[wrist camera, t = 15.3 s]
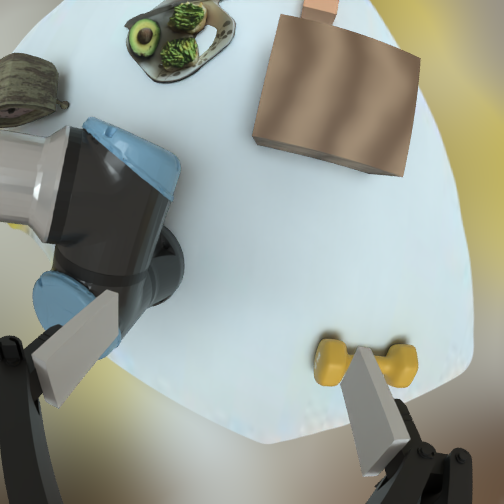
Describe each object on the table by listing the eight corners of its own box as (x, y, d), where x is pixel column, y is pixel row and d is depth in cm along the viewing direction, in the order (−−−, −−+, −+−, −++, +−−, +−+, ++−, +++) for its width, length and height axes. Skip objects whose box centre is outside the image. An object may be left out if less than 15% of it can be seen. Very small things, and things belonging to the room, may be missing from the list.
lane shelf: (257, 145, 42) (251, 135, 30) (278, 51, 37) (280, 14, 25) (369, 173, 42) (402, 177, 30) (386, 81, 37) (420, 58, 25)
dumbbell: (411, 335, 49) (427, 359, 41) (394, 371, 52) (407, 397, 44) (320, 326, 49) (327, 353, 42) (308, 366, 52) (312, 395, 44)
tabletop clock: (25, 129, 42) (-69, 129, 18) (28, 89, 40) (-61, 77, 16) (74, 112, 41) (-32, 97, 17) (78, 68, 39) (-18, 36, 15)
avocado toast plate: (203, -25, 33) (197, -38, 29) (264, 29, 36) (263, 16, 32) (117, 37, 37) (104, 28, 33) (166, 97, 41) (156, 91, 36)
